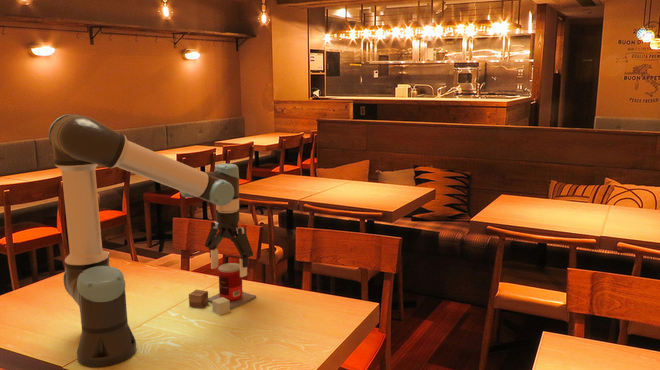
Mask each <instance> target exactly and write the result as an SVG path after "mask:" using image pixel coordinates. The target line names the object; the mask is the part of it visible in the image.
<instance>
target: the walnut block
mask: <svg viewBox="0 0 660 370" xmlns="http://www.w3.org/2000/svg"><path fill="white" fill-rule="evenodd" d="M208 298H209V291H208V290H203V289H202V290H201V289H195V290H193V291H191V292H190V293H189V294H188V305H189V306H188V307H189V308H194V309H200V310H202V309H203V308H204V307H206V306H207V305H209V304H210V303H209V302H208Z"/></svg>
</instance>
